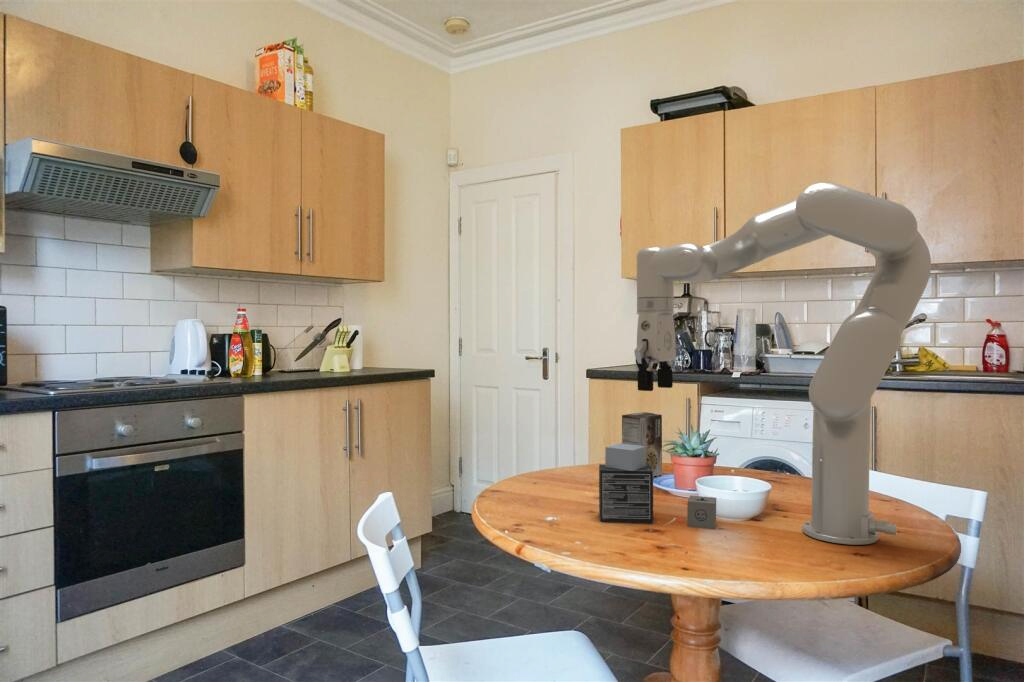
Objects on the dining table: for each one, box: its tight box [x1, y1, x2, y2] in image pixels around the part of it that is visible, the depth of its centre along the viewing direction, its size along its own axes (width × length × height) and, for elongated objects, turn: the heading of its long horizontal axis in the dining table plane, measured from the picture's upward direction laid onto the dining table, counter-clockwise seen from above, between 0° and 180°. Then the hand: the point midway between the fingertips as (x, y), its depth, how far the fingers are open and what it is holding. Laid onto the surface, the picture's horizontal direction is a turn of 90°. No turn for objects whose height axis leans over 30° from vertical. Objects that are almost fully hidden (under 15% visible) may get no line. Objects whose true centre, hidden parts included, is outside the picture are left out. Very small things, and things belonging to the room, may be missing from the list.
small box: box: [598, 464, 655, 524], centre depth 135 cm, size 11×6×10 cm, turn 84°
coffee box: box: [621, 411, 663, 478], centre depth 175 cm, size 9×6×16 cm
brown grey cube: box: [686, 495, 717, 530], centre depth 132 cm, size 5×5×5 cm
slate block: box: [604, 442, 646, 471], centre depth 135 cm, size 6×6×4 cm
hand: (655, 389), depth 141 cm, fingers open, 9 cm apart
